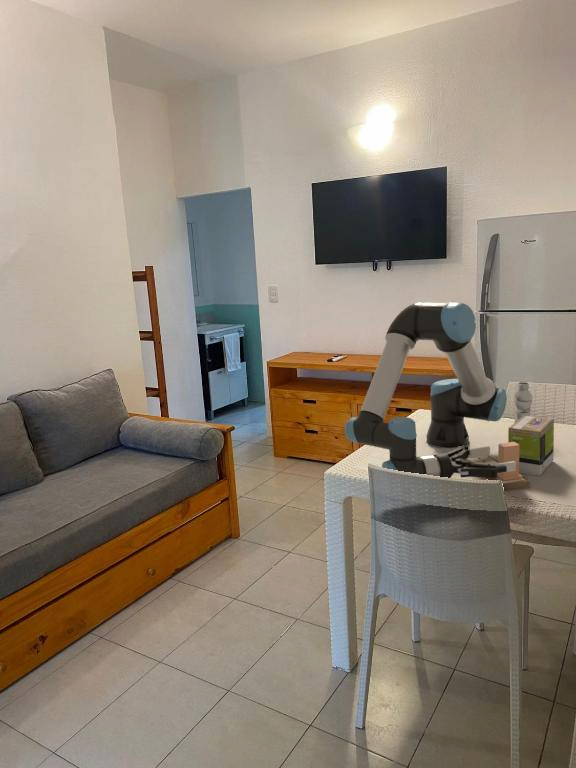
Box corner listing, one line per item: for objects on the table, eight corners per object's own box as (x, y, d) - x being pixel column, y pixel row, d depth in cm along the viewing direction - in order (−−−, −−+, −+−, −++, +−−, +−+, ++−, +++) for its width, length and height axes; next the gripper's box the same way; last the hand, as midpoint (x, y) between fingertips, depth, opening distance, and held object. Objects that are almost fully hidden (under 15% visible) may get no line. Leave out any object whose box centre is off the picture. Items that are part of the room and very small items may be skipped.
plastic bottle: (535, 435, 214) (537, 383, 210) (524, 439, 210) (526, 386, 206) (520, 431, 219) (521, 380, 215) (509, 435, 216) (510, 383, 211)
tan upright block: (494, 474, 175) (495, 443, 172) (512, 471, 176) (513, 440, 173) (503, 480, 170) (504, 448, 168) (522, 477, 171) (523, 445, 169)
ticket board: (462, 463, 192) (462, 456, 191) (487, 460, 193) (487, 453, 193) (501, 491, 169) (501, 483, 168) (529, 487, 170) (529, 479, 170)
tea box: (522, 456, 195) (523, 414, 191) (554, 461, 188) (555, 418, 185) (507, 470, 183) (507, 426, 180) (540, 476, 177) (541, 431, 174)
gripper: (417, 465, 180) (479, 456, 183) (455, 496, 156) (526, 485, 160) (416, 442, 178) (479, 433, 182) (455, 470, 154) (527, 460, 158)
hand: (501, 458), depth 171 cm, fingers open, 13 cm apart
